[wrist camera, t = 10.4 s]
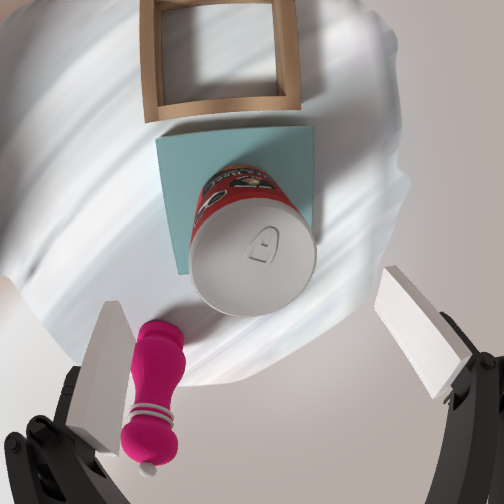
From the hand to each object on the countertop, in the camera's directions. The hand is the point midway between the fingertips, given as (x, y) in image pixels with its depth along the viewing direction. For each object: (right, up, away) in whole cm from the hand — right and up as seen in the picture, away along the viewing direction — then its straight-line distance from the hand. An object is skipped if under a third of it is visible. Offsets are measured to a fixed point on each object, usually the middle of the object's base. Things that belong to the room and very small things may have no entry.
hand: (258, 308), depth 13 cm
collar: (-3, +21, +7) cm, 22 cm away
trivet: (-2, +8, +14) cm, 17 cm away
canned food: (-2, +7, +13) cm, 15 cm away
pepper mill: (-13, -9, +23) cm, 27 cm away
